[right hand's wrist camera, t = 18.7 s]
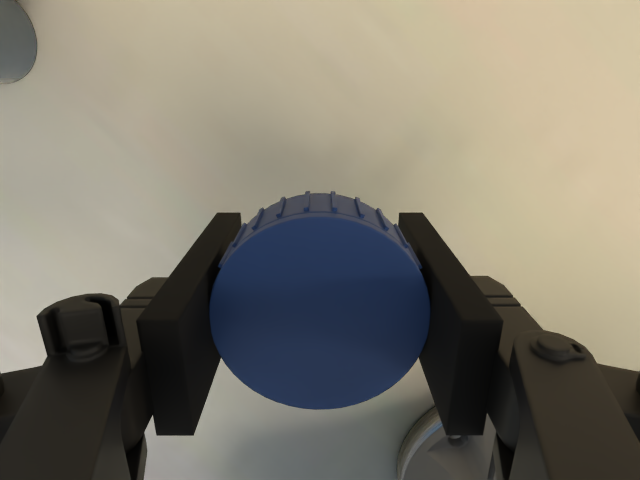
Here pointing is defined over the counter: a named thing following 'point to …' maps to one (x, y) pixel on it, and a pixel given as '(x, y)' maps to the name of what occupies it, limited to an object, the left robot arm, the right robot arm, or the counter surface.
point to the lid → (319, 303)
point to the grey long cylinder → (15, 42)
